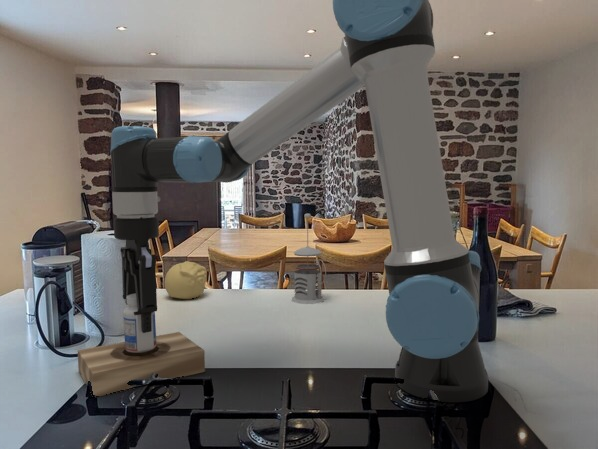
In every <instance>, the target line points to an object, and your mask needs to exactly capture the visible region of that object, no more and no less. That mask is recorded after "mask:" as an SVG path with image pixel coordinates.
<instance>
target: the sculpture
mask: <svg viewBox="0 0 598 449" xmlns="http://www.w3.org/2000/svg"><path fill="white" fill-rule="evenodd" d="M207 272H208V271H207V268H206V267H205V266H202V265H201V264H199V263H196V262H193V261H188V260H185V261H184V262H180V263H177V264H174V265H172V266H171V267H170V268H169V270H168V271H167V272H166V273H165V274H166V275H165V278H164V287H165V288H164V289H165V291H166V294H167V295H168V296H169V297H171V298H175V299H182V300H193V299H192V298H194V299H197V298H199V297H200V296H201V295H202V294H203V292H204V291H205V287H206V282H207ZM196 297H197V298H196Z"/></svg>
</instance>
